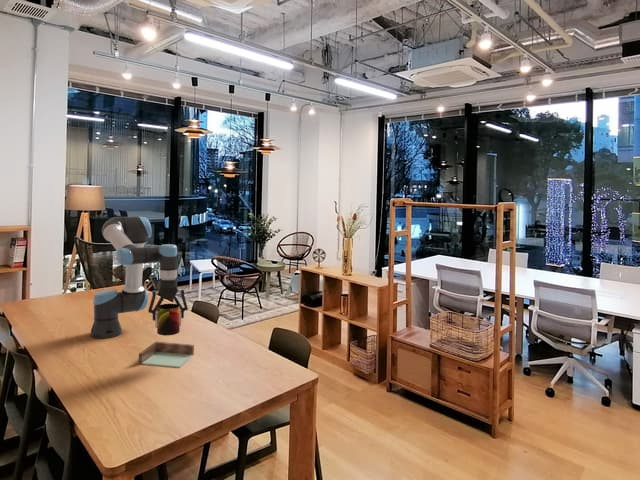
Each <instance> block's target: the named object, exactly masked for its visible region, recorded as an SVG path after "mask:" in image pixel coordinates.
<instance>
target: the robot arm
mask: <svg viewBox="0 0 640 480" xmlns="http://www.w3.org/2000/svg"><path fill="white" fill-rule="evenodd" d="M152 233H153V230H152V225H151V222H150V220H149V219H148V218H147V217H145V216H114V217H111V218H109V219H108V220H107V221H105V222H104V223H103V225H102V228H101V235H102V237H103V238H104V239H105V240H106V241H107V242H109V243H111V245H112V246H113V248H114V249H115V250H116V252H117V254H116V259H117V263H118V265H121V266H125V281H124V285H123V286H122V287H121V291H118V290H117V289H106V290H101V291H98V292H97V293H95V294H94V297H93V323H92V327H91V330H90V336H91V337H92V338H94V339H109V338H113V337H114V338H115V337H118V336H120V335H121V334H122V333H123V329H122V325H121V324H120V323H121V322H120V320H119V315H120V314H125V313H131V312H138V311H143V310H145V309H146V308H147V306H148V302H149V293H148V291H147V290H146V289H145V286H143V271H144V270H143V269H144V264H145V265H146V264H156V263H157V264H158V263H159V278H160V279H159V289H158V290H152V291H151V292H152V296H151V300H150V303H149V306H148V311H147V312H148V313H149V314H152V321H153V322H154V326H155V327H154V328H155V329H157V307H158V308H159V306H160V305H162V303H163V302H164V300H168V299H169V300H172V299H173V301H175V304H177V305H178V307H179V305H180V327H181V326H182V319H184V318H185V315H184V313H185V311H188V310H189V308H188V304H187V301H186V297H185V289H184V288H181V289H178V246H177V245H176V244H171V243H168V244H167V243H166V244H161V245H154V246H145V245H146V244H147V243H148V239H150V238H151V237H152ZM178 293H179V295H180V296H181V297H180V298H181V300H182V304H183V305H182V304H181V303H180V301H179V299H178V298H177V296H176V295H177V294H178ZM158 294H159V295H160V297H159V299H158V301H157V302H156V304H155V300H156V296H158ZM154 304H155V306H154ZM183 306H184V307H183ZM153 307H154V308H153Z"/></svg>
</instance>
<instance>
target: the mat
mask: <svg viewBox="0 0 640 480" xmlns="http://www.w3.org/2000/svg"><path fill="white" fill-rule="evenodd" d="M192 357H194V355H189V354H178V353H166V352H156V353H155V354H154V355H152V356H151V357H150V358H148V359H147V360H146V361H144V362H143V363H142V364H141V365H146V366H147V365H148V366H155V367H156V366H157V367H166V368H167V367H168V368H180V369H181V367H182V366H184V365H185V364H186V362H188V361H189V360H190V359H191V358H192Z"/></svg>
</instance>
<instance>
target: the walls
mask: <svg viewBox="0 0 640 480" xmlns="http://www.w3.org/2000/svg"><path fill="white" fill-rule="evenodd" d="M156 352H166V353H178V354H189V355H193V356H194V355H195V344H189V343H187V344H186V343H176V342H174V343H173V342H166V341H165V342H163V341H154V342H153V343H152V344H151V345H149V346H148V347H146V348H145V349H143V350H141V352H139V353H138V365H143V364H142V363H143V362H144V361H146V360H147V359H148V358H150V357H151V356H152V355H154V354H155V353H156Z"/></svg>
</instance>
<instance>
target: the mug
mask: <svg viewBox="0 0 640 480" xmlns="http://www.w3.org/2000/svg"><path fill="white" fill-rule="evenodd" d="M180 311H181V310H180V305H179V307H178V305H177V303H163V304H162V303H161V305H160V306H159V308H158V307H157V311H156V312H157V328H156V333H157V335H158V336H159V335H160V336H167V337H168V336H174V335H177V334H179V333H180V331H181V330H180V329H181V328H180V327H181V326H180Z"/></svg>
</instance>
